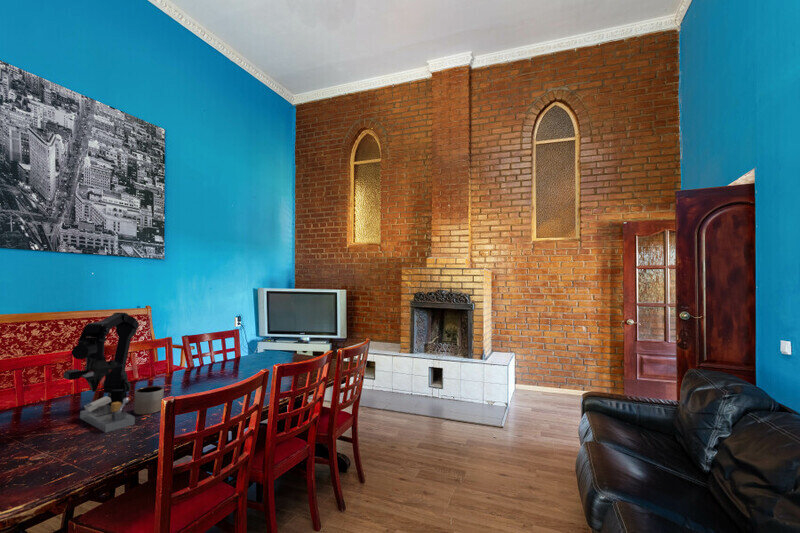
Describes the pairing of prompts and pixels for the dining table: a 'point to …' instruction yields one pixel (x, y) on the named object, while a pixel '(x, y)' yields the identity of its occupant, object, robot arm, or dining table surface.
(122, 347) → the robot arm
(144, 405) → the planter
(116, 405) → the slider
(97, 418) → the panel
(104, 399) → the rocker
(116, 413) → the toggle
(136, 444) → the dining table surface
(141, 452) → the dining table surface
